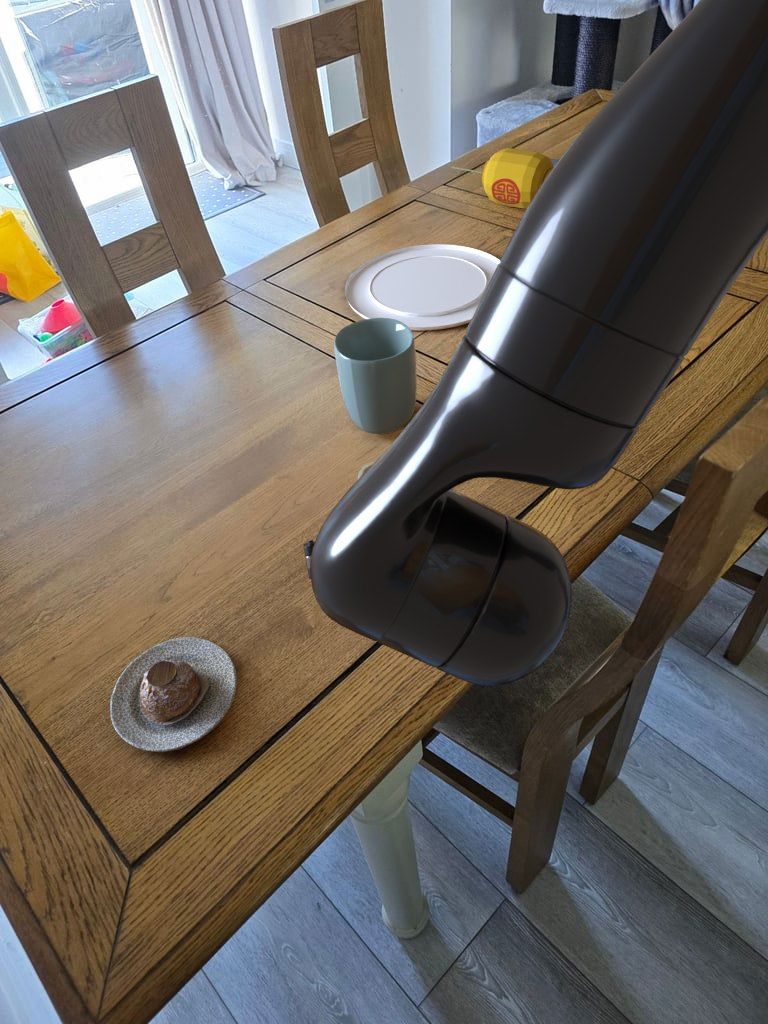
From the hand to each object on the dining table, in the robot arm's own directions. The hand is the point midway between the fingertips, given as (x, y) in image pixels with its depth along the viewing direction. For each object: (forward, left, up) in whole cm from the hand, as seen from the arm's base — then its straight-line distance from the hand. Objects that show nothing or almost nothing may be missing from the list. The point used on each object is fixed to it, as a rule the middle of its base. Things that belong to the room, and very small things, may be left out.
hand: (388, 540), depth 61 cm
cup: (+8, -32, -13) cm, 35 cm away
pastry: (+20, +11, -13) cm, 26 cm away
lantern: (-6, -101, -13) cm, 102 cm away
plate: (+7, -68, -13) cm, 69 cm away
